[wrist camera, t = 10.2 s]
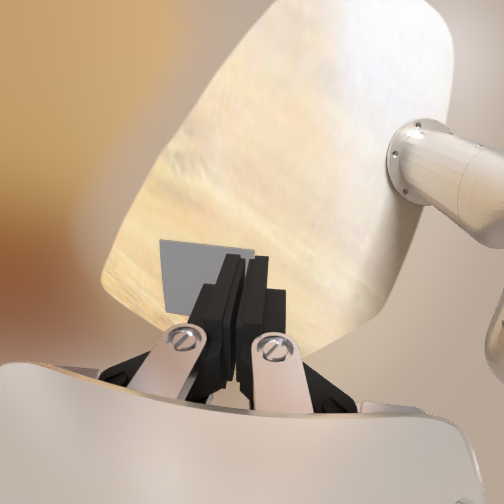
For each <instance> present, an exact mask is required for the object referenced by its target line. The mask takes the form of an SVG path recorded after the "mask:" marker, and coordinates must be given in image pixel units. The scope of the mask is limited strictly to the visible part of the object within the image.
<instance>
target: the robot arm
mask: <svg viewBox="0 0 504 504" xmlns="http://www.w3.org/2000/svg"><path fill="white" fill-rule="evenodd" d="M416 124H417V126H416ZM393 152H394V155H392V153H393ZM387 167H388V173H389V176H390V179H391V182H392V184H393V186H394V187H395V189H396V190H397V191H398V193H400V194H401V195H402V196H403V197H404V198H405V199H407V200H408V201H410V202H412V203H414V204H417V205H422V206H428V205H433V206H434V207H436V208H437V209H438V210H439V211H441V212H442V213H443V214H445V215H446V216H447V217H448V218H450V219H451V220H452V221H453V222H455V223H456V224H457V225H458V226H459V227H461V228H462V229H463V230H464V231H466V232H467V233H468V234H469V235H470V236H471V237H473V238H474V239H475V240H476V241H478V242H479V243H481V244H482V245H484V246H486V247H489V248H494V249H503V248H504V150H502V149H499V148H496V147H493V146H489V145H486V144H483V143H480V142H476V141H473V140H470V139H466V138H462V137H458V136H455V135H454V134H453V133H452V132H451V131H450V129H449V128H448V127H446V126H445V125H444V124H443V123H441V122H439V121H437V120H433V119H429V118H417V119H413V120H411V121H408V122H407V123H405V124H404V125H402V126H401V127H400V128H399V129H398V130H397V132H396V133H395V135H394V136H393V138H392V140H391V142H390V145H389V149H388V153H387ZM404 189H405V190H404ZM403 190H404V191H403ZM268 260H269V256H255V259H249V263H248V268H247V272H246V277H245V265H246V259H245V258H241V255H240V254H226V256H225V259H224V262H223V264H222V267H221V270H220V273H219V275H218V278H217V281H216V284H207V283H204V284H203V286H202V288H201V291H200V293H199V295H198V298H197V300H196V303H195V305H194V308H193V310H192V312H191V315H190V317H189V320H188V322H187V323H184V324H177V325H174V326H172V327H170V328H169V329H167V330H166V331H165V332H164V334H163V335H162V336H161V338H160V339H159V341H158V342H157V344H156V345H155V346H154V348H153V349H152V350H151V351H149V352H146V353H144V354H142V355H139V356H137V357H134V358H132V359H130V360H127V361H125V362H122V363H120V364H117V365H115V366H112V367H110V368H108V369H106V370H105V371H103V372H100V370H99V369H90V368H80V367H69V366H60V365H53V366H52V365H48V364H43V363H39V362H31V361H14V362H8V363H5V364H3V365H1V366H0V504H486V497H485V492H484V487H483V482H482V478H481V474H480V470H479V466H478V463H477V460H476V457H475V454H474V451H473V449H472V446H471V445H470V442H469V440H468V438H467V436H466V434H465V433H464V431H463V430H462V429H461V428H460V427H459V426H458V425H457V424H455V423H454V422H452V421H450V420H447V419H445V418H441V417H438V416H433V415H429V414H425V412H423V411H422V410H420V409H419V408H415V407H408V406H398V405H391V404H383V403H376V402H369V401H363V402H362V403H355V402H354V400H353V399H351V398H350V397H349V396H348V395H347V394H345V393H344V392H343V391H341V390H340V389H338V388H337V387H336V386H334V385H333V384H332V383H330V382H329V381H328V380H326V379H325V378H324V377H322V376H321V375H320V374H318V373H317V372H316V371H314V370H313V369H312V368H310V367H309V366H308V365H306V364H305V363H304V362H302V359H301V355H300V351H299V347H298V345H297V342H296V341H295V340H294V339H293V338H292V337H290V336H288V335H286V334H285V328H286V290H280V289H267V275H268ZM485 356H486V360H487V363H488V365H489V367H490V369H491V371H492V372H493V374H494V375H495V376H496V377H497V378H498V379H499V380H500V381H501V382H502V383H503V384H504V289H503V292H502V295H501V297H500V300H499V302H498V305H497V308H496V310H495V313H494V315H493V317H492V320H491V323H490V325H489V328H488V331H487V334H486V339H485ZM235 364H236V380H237V382H240V391H241V392H242V393H243V394H244V395H245V396H246V397H247V398H248V399H249V410H246V409H237V408H228V407H221V406H213V405H210V404H211V402H212V399H213V393H214V392H216V391H218V390H220V389H221V388H224V389H225V388H226V383H227V381H232V380H233V375H234V369H235Z"/></svg>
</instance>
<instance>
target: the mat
mask: <svg viewBox="0 0 504 504" xmlns="http://www.w3.org/2000/svg"><path fill="white" fill-rule="evenodd" d="M159 242H160V257H161V269H162V280H163V291H164V300H165V309H166V312H169V313H175V314H181V315H187V316H190V315H191V312H192V310H193V308H194V305H195V303H196V300H197V298H198V295H199V293H200V291H201V288H202V286H203V284H204V283H207V284H216V281H217V278H218V275H219V273H220V270H221V267H222V264H223V262H224V259H225V256H226V254H240V255H241V258H245V259H246V265H245V277H246V272H247V268H248V263H249V259H253V258H254V250H250V249H241V248H232V247H223V246H215V245H206V244H197V243H188V242H179V241H170V240H161V239H160V240H159Z"/></svg>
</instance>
